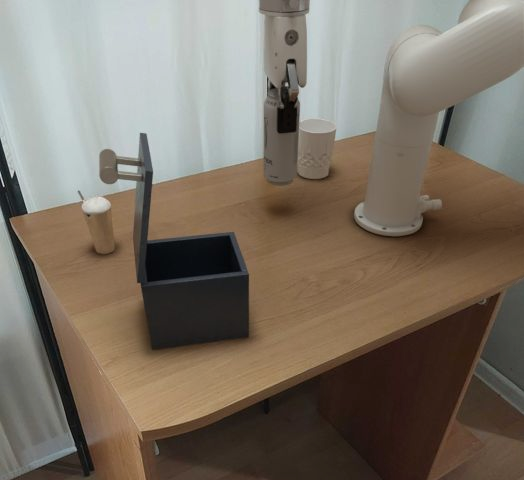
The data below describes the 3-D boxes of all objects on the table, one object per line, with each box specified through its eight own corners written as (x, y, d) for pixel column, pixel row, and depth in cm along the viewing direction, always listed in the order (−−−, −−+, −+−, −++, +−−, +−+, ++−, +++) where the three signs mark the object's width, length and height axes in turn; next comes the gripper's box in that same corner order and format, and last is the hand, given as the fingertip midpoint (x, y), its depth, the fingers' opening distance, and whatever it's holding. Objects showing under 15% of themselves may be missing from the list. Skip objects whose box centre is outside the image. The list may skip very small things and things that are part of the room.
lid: (146, 133, 64) (99, 127, 62) (153, 171, 56) (99, 165, 55) (138, 238, 73) (97, 235, 71) (143, 283, 66) (97, 281, 64)
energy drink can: (262, 173, 100) (262, 87, 89) (294, 172, 100) (298, 86, 90) (264, 187, 95) (265, 99, 85) (298, 186, 96) (302, 98, 85)
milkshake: (99, 238, 94) (87, 184, 87) (124, 246, 92) (114, 192, 85) (82, 251, 91) (68, 196, 84) (107, 259, 89) (95, 204, 82)
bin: (235, 292, 83) (233, 231, 76) (248, 337, 76) (249, 273, 68) (146, 303, 81) (136, 241, 73) (151, 350, 73) (140, 286, 66)
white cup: (329, 182, 111) (334, 134, 105) (291, 178, 112) (294, 130, 106) (333, 166, 117) (338, 120, 110) (297, 163, 118) (300, 116, 111)
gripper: (326, 11, 73) (317, 142, 85) (293, -12, 85) (289, 106, 98) (273, 13, 72) (271, 146, 84) (247, -10, 84) (249, 109, 96)
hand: (281, 123), depth 91 cm, fingers closed on energy drink can, 6 cm apart
